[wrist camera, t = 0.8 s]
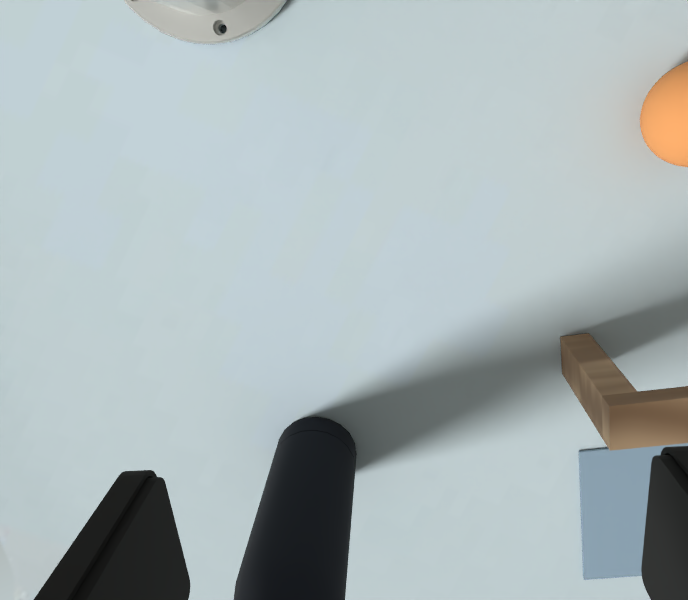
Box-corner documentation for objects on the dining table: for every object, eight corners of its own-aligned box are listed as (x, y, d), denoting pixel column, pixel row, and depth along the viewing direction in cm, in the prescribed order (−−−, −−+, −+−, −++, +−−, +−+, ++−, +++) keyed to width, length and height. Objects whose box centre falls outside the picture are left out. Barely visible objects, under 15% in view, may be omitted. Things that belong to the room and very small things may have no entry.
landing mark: (578, 450, 45) (579, 452, 44) (756, 433, 43) (758, 434, 43) (583, 577, 49) (584, 579, 49) (745, 566, 47) (746, 568, 47)
